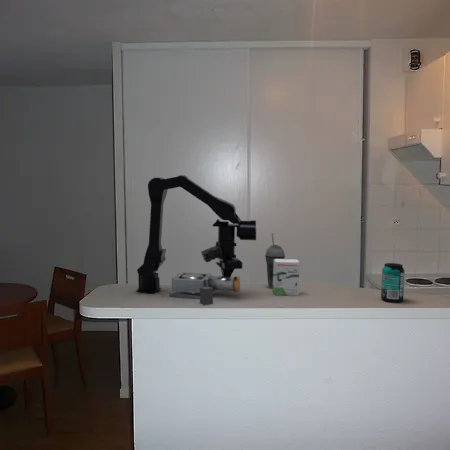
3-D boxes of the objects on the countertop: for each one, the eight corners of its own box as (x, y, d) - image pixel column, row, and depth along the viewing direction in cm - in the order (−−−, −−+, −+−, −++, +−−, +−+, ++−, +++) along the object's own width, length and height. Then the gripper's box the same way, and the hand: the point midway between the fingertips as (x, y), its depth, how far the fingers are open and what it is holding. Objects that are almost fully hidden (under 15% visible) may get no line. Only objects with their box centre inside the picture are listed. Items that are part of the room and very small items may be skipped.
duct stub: (169, 295, 169) (169, 278, 168) (183, 288, 180) (183, 271, 179) (201, 299, 165) (202, 281, 164) (214, 291, 176) (215, 274, 175)
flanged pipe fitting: (170, 293, 167) (169, 277, 167) (179, 285, 179) (179, 270, 179) (236, 296, 163) (236, 280, 163) (241, 288, 176) (241, 272, 175)
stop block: (199, 303, 160) (199, 287, 160) (207, 301, 162) (207, 286, 161) (205, 304, 158) (205, 289, 157) (212, 303, 160) (212, 288, 159)
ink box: (274, 295, 171) (274, 261, 170) (272, 291, 176) (272, 258, 175) (299, 295, 171) (300, 261, 170) (296, 291, 176) (297, 258, 175)
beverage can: (396, 297, 170) (398, 262, 168) (407, 302, 163) (409, 266, 161) (377, 298, 168) (378, 262, 167) (387, 303, 162) (388, 266, 160)
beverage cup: (283, 289, 179) (284, 234, 177) (263, 288, 180) (264, 233, 178) (285, 285, 186) (286, 232, 184) (265, 284, 187) (266, 231, 185)
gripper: (197, 235, 178) (197, 278, 180) (210, 245, 160) (209, 292, 163) (227, 234, 181) (226, 276, 183) (243, 243, 163) (242, 290, 166)
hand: (225, 283), depth 174 cm, fingers closed
